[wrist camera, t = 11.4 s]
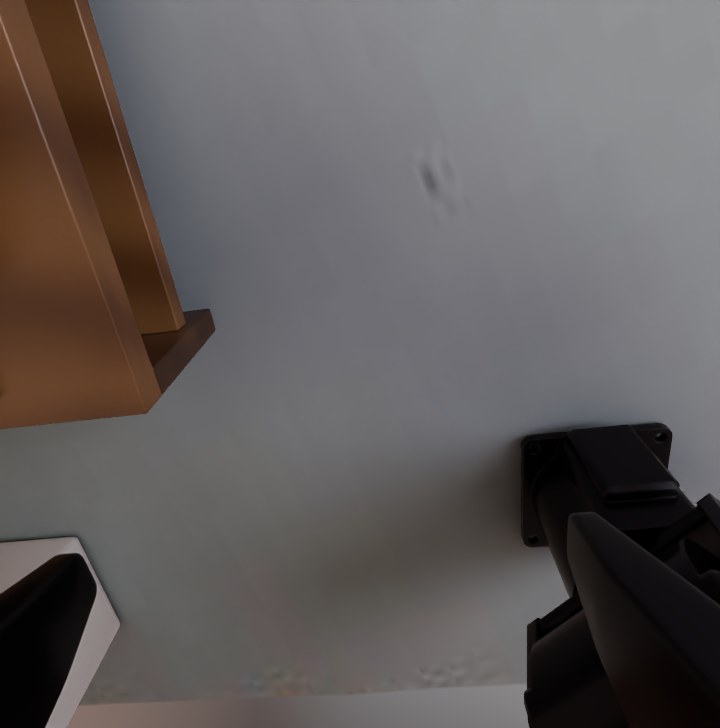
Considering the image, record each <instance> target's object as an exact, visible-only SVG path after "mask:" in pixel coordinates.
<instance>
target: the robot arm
mask: <svg viewBox="0 0 720 728" xmlns="http://www.w3.org/2000/svg"><path fill="white" fill-rule="evenodd" d="M658 433H661V435H660V436H658V437H655V436H656V435H657V434H658ZM671 442H672V432H671V431H670V430H669V429H668V428H667V426H666V425H664V424H662V423H653V424H642V425H632V426H629V425H620V426H610V427H599V428H588V429H578V430H572V431H568V432H558V433H547V434H536V435H530V436H527V437H525V438H524V439H523V440H522V442H521V536H522V539H523V542H524V544H525V545H526V546H528V547H545V546H549V548H550V550H551V553H552V555H553V558H554V560H555V563H556V565H557V568H558V570H559V573H560V575H561V578H562V580H563V583H564V585H565V588H566V590H567V593H568V595H569V597H570V598H569V599H568V600H566V601H565V602H564V603H562V604H561V605H560V606H558V607H557V608H555V609H554V610H553V611H551V612H550V613H548V614H547V615H546V616H544V617H543V618H542V619H540V618H537V619H535V620H534V621H533V622H531V623H530V624H528V625H527V690H526V691H525V693H524V704H525V708H526V711H527V715H528V723H529V727H530V728H720V501H719V500H718V499H717V498H715V497H714V496H713V495H711V494H710V493H709V494H708V495H706V496H705V497H703V498H702V499H701V500H699V501H698V502H697V505H698V506H697V507H695V506H694V505H693V504H692V503H691V502H690V500H689V499H688V498H687V497H686V496H685V494H684V493H683V492H682V491H681V490H680V488H679V486H680V485H679V483H678V481H677V480H676V479H675V478H674V477H673V475H672V474H671V473H670V472H669V471H668V470H667V469H668V463H669V456H670V449H671ZM533 444H536V445H537V446H536V447H535V448H532V449H530V448H529V447H530V446H531V445H533ZM531 536H535V537H533V538H530V537H531ZM96 593H97V585H96V581H95V579H94V577H93V575H92V573H91V571H90V569H89V567H88V565H87V563H86V561H85V559H84V558H83V556H82V555H80V554H79V553H68V554H59V555H56V556H54V557H52V558H51V559H49V560H48V561H47V562H45V563H44V564H42V565H41V566H39V567H38V568H37V569H35V570H34V571H32V572H31V573H29V574H28V575H27V576H25V577H24V578H22V579H21V580H19V581H18V582H17V583H15V584H14V585H12V586H11V587H9V588H8V589H7V590H5V591H4V592H2V593H1V594H0V728H45V727H46V725H47V723H48V720H49V718H50V716H51V714H52V712H53V709H54V707H55V705H56V703H57V701H58V698H59V696H60V694H61V692H62V689H63V687H64V684H65V682H66V680H67V677H68V674H69V672H70V669H71V667H72V664H73V661H74V658H75V655H76V652H77V649H78V647H79V644H80V641H81V638H82V635H83V632H84V629H85V627H86V624H87V621H88V618H89V615H90V612H91V609H92V607H93V604H94V601H95V598H96Z"/></svg>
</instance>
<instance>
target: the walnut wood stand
mask: <svg viewBox="0 0 720 728" xmlns="http://www.w3.org/2000/svg"><path fill="white" fill-rule="evenodd" d="M214 331H215V326H214V323H213V319H212V315H211V312H210V309H205V310H197V311H189V312H182V309H181V306H180V302H179V299H178V296H177V293H176V289H175V286H174V283H173V279H172V276H171V273H170V270H169V266H168V263H167V260H166V256H165V253H164V250H163V247H162V243H161V240H160V237H159V234H158V230H157V227H156V224H155V220H154V217H153V214H152V211H151V207H150V204H149V201H148V197H147V194H146V191H145V188H144V184H143V181H142V178H141V174H140V171H139V168H138V165H137V161H136V158H135V155H134V151H133V148H132V145H131V142H130V138H129V135H128V132H127V129H126V125H125V122H124V119H123V115H122V112H121V109H120V106H119V102H118V99H117V96H116V92H115V89H114V86H113V83H112V79H111V76H110V73H109V69H108V66H107V63H106V60H105V56H104V53H103V50H102V46H101V43H100V40H99V37H98V33H97V30H96V27H95V24H94V20H93V17H92V14H91V10H90V7H89V4H88V1H87V0H0V429H5V428H15V427H24V426H34V425H43V424H53V423H62V422H71V421H81V420H90V419H100V418H109V417H119V416H128V415H138V414H146V413H148V411H149V410H150V409H151V408H152V406H153V405H154V404H155V403H156V402H157V400H158V399H159V398H160V397H161V394H163V393H164V392H165V391H166V389H167V388H168V387H169V386H170V385H171V383H172V382H173V381H174V380H175V379H176V377H177V376H178V375H179V374H180V373H181V371H182V370H183V369H184V368H185V366H186V365H187V364H188V363H189V362H190V360H191V359H192V358H193V357H194V356H195V354H196V353H197V352H198V351H199V350H200V348H201V347H202V346H203V345H204V343H205V342H206V341H207V340H208V339H209V337H210V336H211V335H212V334H213V333H214Z"/></svg>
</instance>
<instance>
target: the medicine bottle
mask: <svg viewBox="0 0 720 728" xmlns="http://www.w3.org/2000/svg"><path fill="white" fill-rule="evenodd" d="M68 553H79V554H80V555H82V556H83V558H84V559H85V561H86V563H87V565H88V567H89V569H90V571H91V573H92V575H93V577H94V579H95V581H96V585H97V593H96V598H95V601H94V604H93V607H92V609H91V612H90V615H89V618H88V621H87V624H86V627H85V629H84V632H83V635H82V638H81V641H80V644H79V647H78V649H77V652H76V655H75V658H74V661H73V664H72V667H71V669H70V672H69V674H68V677H67V680H66V682H65V684H64V687H63V689H62V692H61V694H60V696H59V698H58V701H57V703H56V705H55V707H54V709H53V712H52V714H51V716H50V718H49V720H48V723H47V725H46V727H45V728H67V726H68V724H69V722H70V720H71V718H72V716H73V715H74V713H75V711H76V709H77V707H78V705H79V703H80V701H81V699H82V697H83V696H84V694H85V692H86V690H87V688H88V686H89V684H90V682H91V680H92V678H93V676H94V675H95V673H96V671H97V669H98V667H99V665H100V663H101V661H102V659H103V657H104V656H105V654H106V652H107V650H108V648H109V646H110V644H111V642H112V640H113V638H114V636H115V635H116V633H117V631H118V629H119V627H120V621H119V619H118V617H117V615H116V613H115V612H114V610H113V608H112V606H111V604H110V602H109V600H108V598H107V596H106V594H105V592H104V590H103V588H102V586H101V584H100V582H99V580H98V578H97V576H96V574H95V572H94V570H93V568H92V566H91V564H90V562H89V560H88V558H87V556H86V554H85V552H84V550H83V548H82V546H81V544H80V542H79V540H78V539H77V538H76V537H63V538H51V539H40V540H28V541H16V542H4V543H0V594H1V593H2V592H4V591H5V590H7V589H8V588H9V587H11V586H12V585H14V584H15V583H17V582H18V581H19V580H21V579H22V578H24V577H25V576H27V575H28V574H29V573H31V572H32V571H34V570H35V569H37V568H38V567H39V566H41V565H42V564H44V563H45V562H47V561H48V560H49V559H51V558H52V557H54V556H56V555H59V554H68Z"/></svg>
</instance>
